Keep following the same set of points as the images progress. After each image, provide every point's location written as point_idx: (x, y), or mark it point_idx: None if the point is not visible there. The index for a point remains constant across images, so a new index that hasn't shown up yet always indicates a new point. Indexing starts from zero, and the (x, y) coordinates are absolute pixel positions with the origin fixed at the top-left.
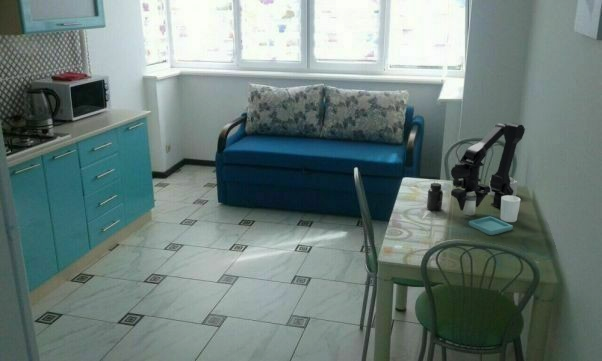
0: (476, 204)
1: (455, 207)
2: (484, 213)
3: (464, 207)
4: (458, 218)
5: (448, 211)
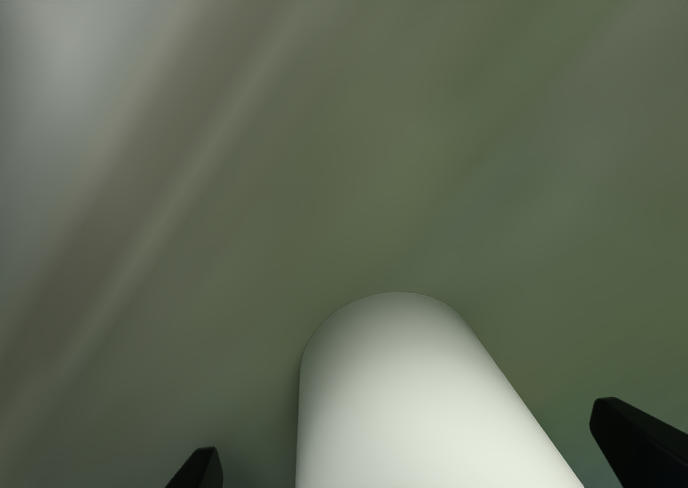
0: (631, 454)
1: (373, 40)
2: (570, 439)
3: (297, 472)
4: (111, 473)
5: (89, 182)
